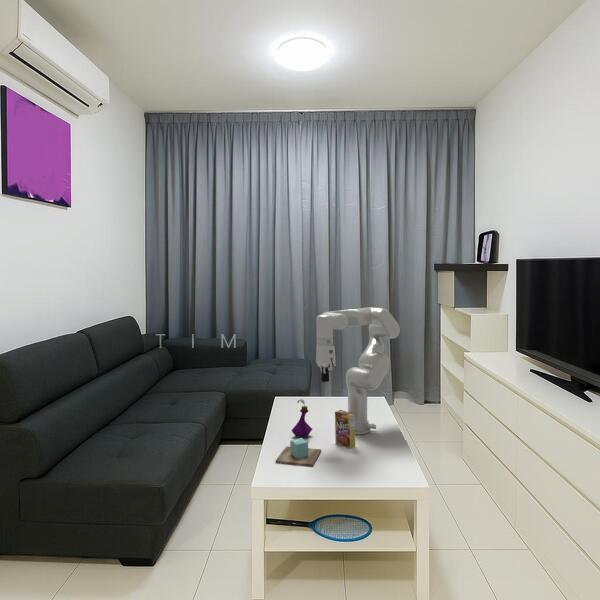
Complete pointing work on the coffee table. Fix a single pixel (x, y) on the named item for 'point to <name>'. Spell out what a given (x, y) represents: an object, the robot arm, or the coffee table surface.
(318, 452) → the plate
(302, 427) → the perfume bottle
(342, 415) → the candy box
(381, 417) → the coffee table surface
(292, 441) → the teal cube
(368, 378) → the robot arm
